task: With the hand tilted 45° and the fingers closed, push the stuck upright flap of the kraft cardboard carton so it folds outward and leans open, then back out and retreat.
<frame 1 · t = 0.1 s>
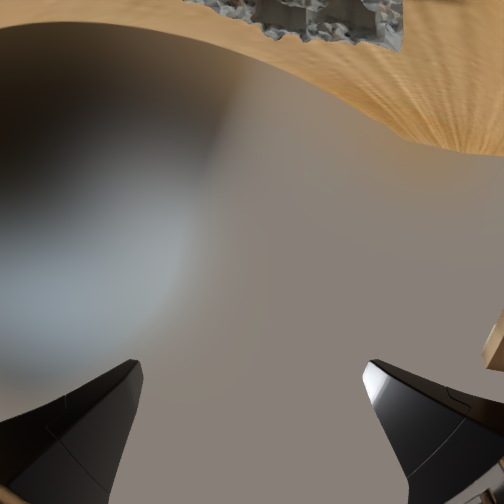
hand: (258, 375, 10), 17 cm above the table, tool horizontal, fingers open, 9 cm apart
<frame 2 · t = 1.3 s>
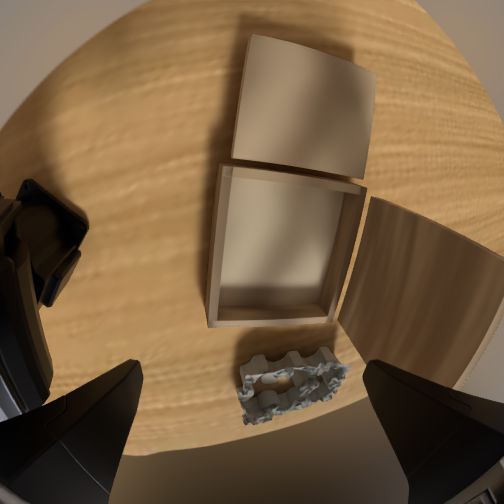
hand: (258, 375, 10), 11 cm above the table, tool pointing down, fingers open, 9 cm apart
egg carton: (285, 370, 27), on the table
flap: (406, 305, 14), point 9 cm above the table, hinge at -5.9°
carton: (277, 245, 21), on the table
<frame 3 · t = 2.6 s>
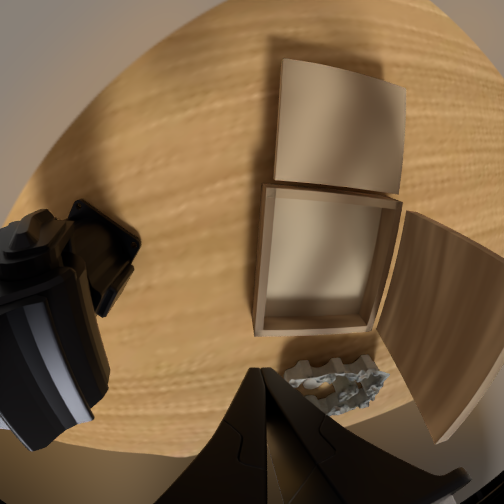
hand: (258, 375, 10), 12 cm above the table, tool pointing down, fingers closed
egg carton: (327, 376, 27), on the table
flap: (437, 316, 13), point 9 cm above the table, hinge at -5.9°
carton: (320, 258, 21), on the table
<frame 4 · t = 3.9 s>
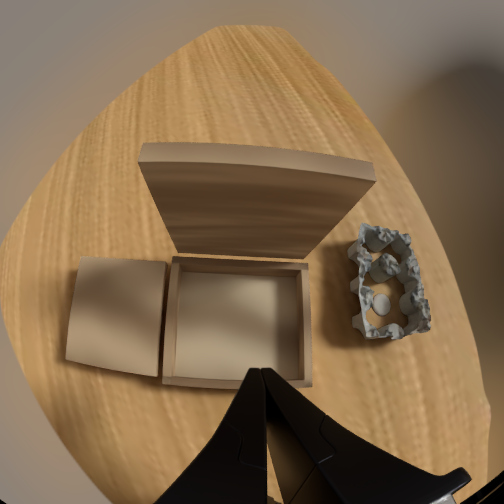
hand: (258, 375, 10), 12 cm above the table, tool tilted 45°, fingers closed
egg carton: (376, 289, 25), on the table
flap: (248, 217, 16), point 9 cm above the table, hinge at -5.9°
carton: (237, 327, 22), on the table
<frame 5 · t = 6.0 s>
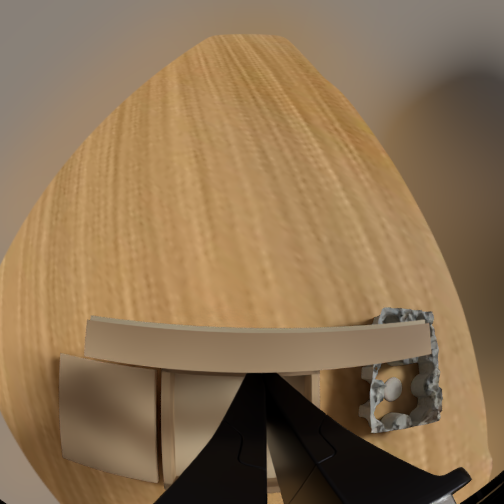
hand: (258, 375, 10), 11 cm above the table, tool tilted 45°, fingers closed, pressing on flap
egg carton: (389, 371, 21), on the table
flap: (251, 355, 12), point 9 cm above the table, hinge at -1.7°, touching gripper
carton: (239, 429, 18), on the table
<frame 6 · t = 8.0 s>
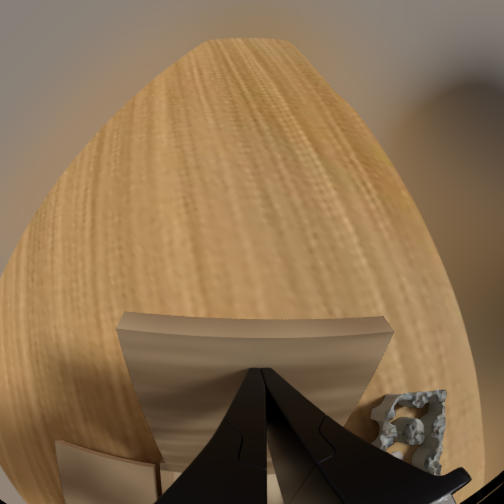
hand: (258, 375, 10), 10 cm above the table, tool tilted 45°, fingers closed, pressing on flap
egg carton: (392, 445, 17), on the table
flap: (250, 418, 12), point 7 cm above the table, hinge at 42.5°, touching gripper
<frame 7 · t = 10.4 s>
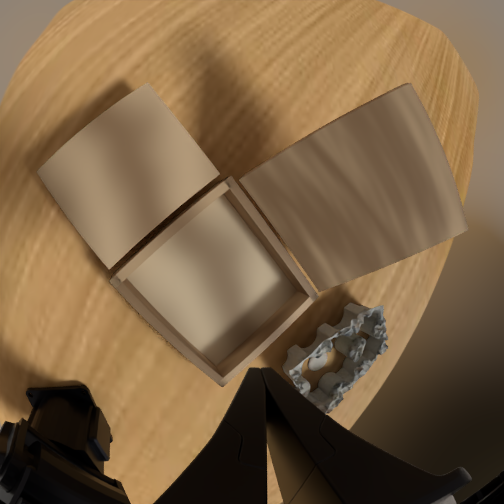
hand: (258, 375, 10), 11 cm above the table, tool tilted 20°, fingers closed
egg carton: (327, 347, 26), on the table
flap: (363, 198, 16), point 7 cm above the table, hinge at 43.7°
carton: (215, 283, 20), on the table
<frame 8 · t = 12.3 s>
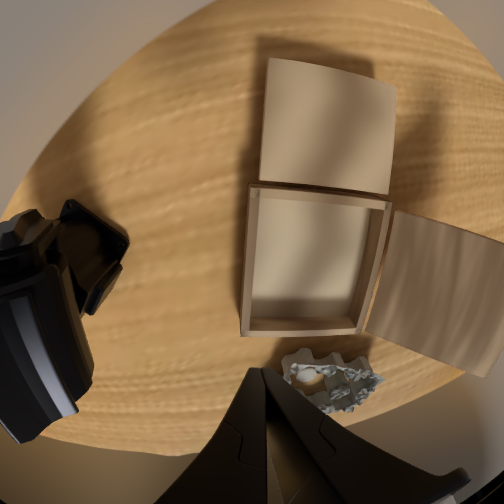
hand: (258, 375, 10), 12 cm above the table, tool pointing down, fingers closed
egg carton: (320, 372, 26), on the table
flap: (452, 298, 16), point 7 cm above the table, hinge at 43.7°
carton: (308, 259, 21), on the table
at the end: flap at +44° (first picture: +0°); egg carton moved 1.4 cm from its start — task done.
